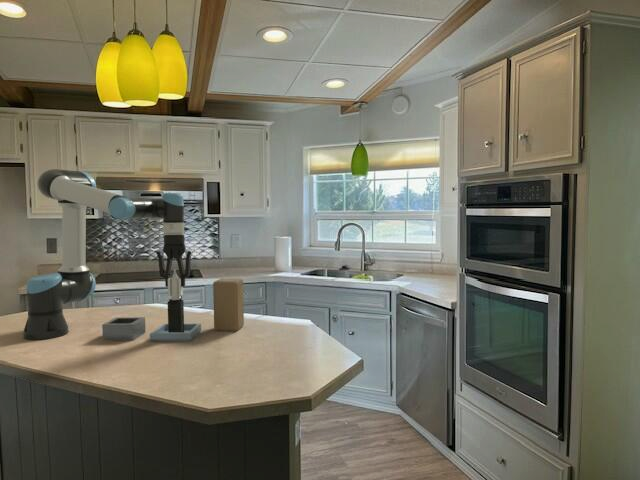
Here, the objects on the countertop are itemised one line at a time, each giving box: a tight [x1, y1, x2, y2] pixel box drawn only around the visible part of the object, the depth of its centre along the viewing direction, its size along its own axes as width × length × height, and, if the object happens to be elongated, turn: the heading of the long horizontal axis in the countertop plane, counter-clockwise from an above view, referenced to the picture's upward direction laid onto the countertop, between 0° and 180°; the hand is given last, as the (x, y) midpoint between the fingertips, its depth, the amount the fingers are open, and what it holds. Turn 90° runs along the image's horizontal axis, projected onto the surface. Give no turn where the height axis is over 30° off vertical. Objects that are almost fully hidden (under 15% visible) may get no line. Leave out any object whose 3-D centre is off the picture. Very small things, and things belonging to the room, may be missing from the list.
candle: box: [167, 268, 185, 333], centre depth 175 cm, size 5×5×25 cm
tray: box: [149, 322, 202, 343], centre depth 176 cm, size 15×15×3 cm
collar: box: [101, 316, 146, 342], centre depth 176 cm, size 12×12×6 cm
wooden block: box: [212, 277, 245, 332], centre depth 186 cm, size 10×10×20 cm
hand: (175, 295), depth 175 cm, fingers open, 3 cm apart
